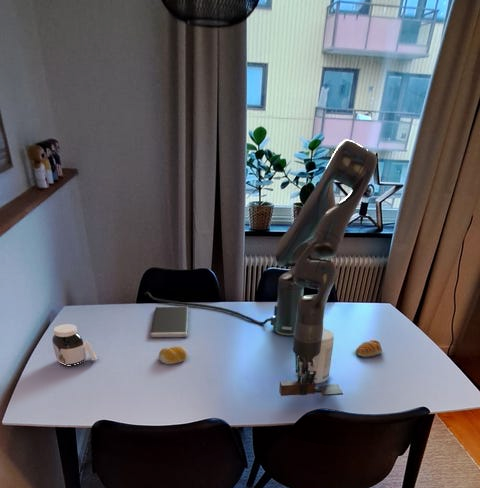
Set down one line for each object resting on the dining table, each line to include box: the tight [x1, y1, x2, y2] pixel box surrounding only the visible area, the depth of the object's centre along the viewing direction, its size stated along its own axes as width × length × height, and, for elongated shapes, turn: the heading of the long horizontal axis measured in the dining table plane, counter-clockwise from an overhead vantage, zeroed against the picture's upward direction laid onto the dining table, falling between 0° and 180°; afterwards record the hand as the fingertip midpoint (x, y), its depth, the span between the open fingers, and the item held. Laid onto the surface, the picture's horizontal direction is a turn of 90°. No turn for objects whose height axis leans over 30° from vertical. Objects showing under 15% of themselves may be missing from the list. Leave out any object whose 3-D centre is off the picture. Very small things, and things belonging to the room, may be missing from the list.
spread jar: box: [51, 323, 98, 368], centre depth 153 cm, size 12×11×12 cm
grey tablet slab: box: [150, 306, 189, 338], centre depth 183 cm, size 13×27×2 cm, turn 4°
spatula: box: [278, 380, 344, 397], centre depth 137 cm, size 18×5×3 cm, turn 99°
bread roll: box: [158, 346, 187, 365], centre depth 158 cm, size 8×9×4 cm
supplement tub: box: [313, 328, 334, 384], centre depth 146 cm, size 10×10×15 cm
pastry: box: [355, 339, 383, 358], centre depth 164 cm, size 9×7×4 cm
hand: (302, 391), depth 138 cm, fingers closed on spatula, 2 cm apart
